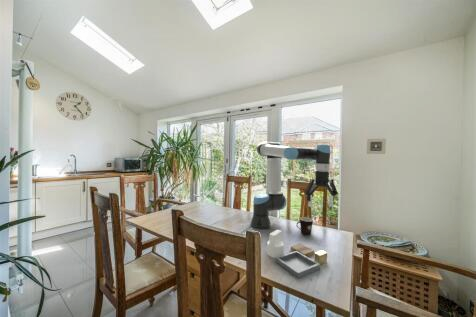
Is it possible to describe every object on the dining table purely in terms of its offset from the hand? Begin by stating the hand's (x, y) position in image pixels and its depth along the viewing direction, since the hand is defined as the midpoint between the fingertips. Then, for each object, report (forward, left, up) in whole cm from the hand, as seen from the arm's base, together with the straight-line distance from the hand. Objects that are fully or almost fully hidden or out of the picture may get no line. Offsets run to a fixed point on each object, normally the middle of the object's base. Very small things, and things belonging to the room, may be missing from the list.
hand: (320, 206), depth 120 cm
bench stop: (+11, -13, -25) cm, 30 cm away
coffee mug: (-19, +9, -25) cm, 33 cm away
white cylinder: (-7, -28, -25) cm, 38 cm away
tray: (+8, -27, -25) cm, 37 cm away
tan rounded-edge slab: (-1, -13, -25) cm, 29 cm away
